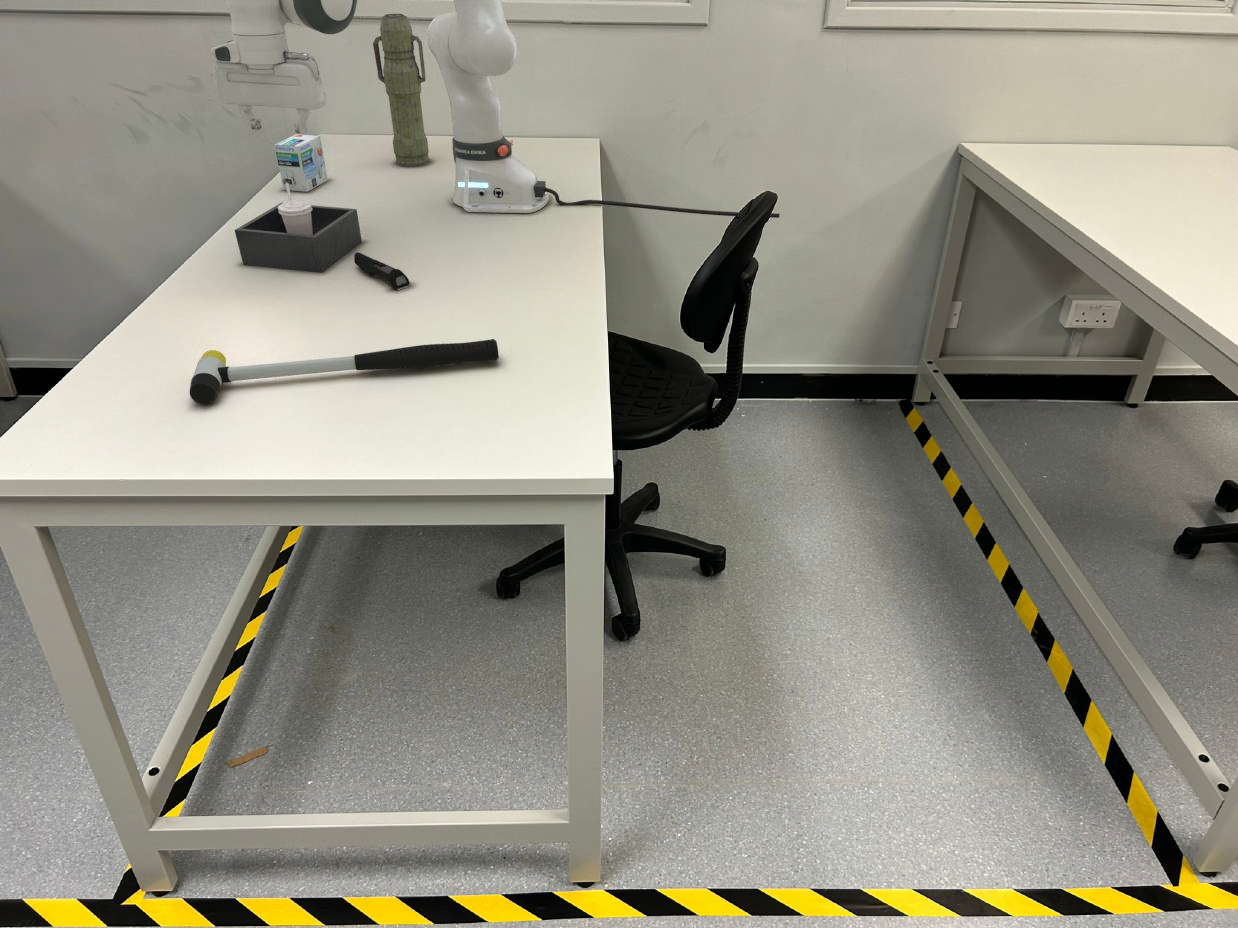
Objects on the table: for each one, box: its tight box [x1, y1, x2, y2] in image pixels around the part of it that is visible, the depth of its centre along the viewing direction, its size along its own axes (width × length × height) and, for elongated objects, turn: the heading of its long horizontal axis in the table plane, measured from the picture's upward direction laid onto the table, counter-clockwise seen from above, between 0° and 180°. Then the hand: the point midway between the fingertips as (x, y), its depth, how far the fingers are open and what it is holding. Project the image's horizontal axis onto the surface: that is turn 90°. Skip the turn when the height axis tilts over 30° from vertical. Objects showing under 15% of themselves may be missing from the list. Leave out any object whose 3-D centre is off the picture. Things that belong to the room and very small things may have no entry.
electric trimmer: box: [353, 251, 411, 291], centre depth 163 cm, size 4×16×3 cm, turn 45°
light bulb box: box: [273, 133, 329, 193], centre depth 208 cm, size 11×7×11 cm, turn 168°
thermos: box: [372, 13, 430, 168], centre depth 218 cm, size 9×12×35 cm
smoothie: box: [278, 183, 313, 235], centre depth 170 cm, size 6×6×14 cm
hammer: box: [189, 338, 500, 405], centre depth 132 cm, size 45×11×4 cm, turn 103°
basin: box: [234, 202, 363, 274], centre depth 172 cm, size 17×17×7 cm
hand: (278, 131), depth 160 cm, fingers open, 8 cm apart
